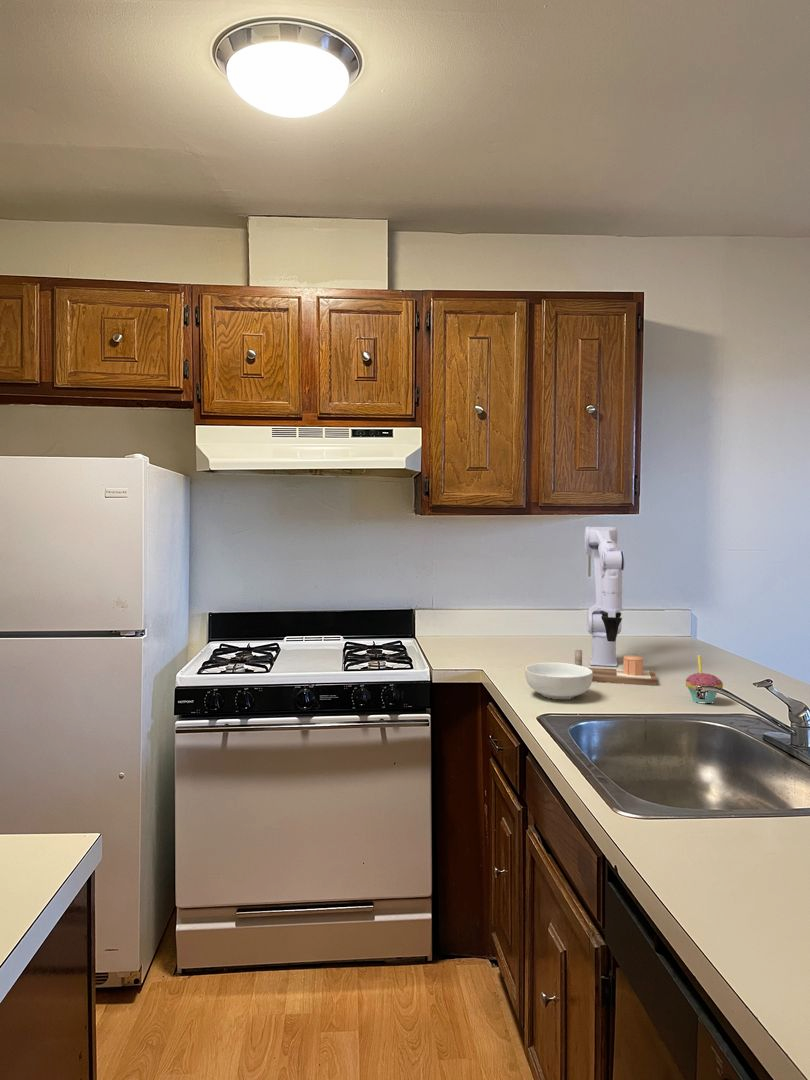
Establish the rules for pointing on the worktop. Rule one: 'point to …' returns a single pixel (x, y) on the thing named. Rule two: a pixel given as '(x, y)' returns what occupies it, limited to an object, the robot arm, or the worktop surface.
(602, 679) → the board
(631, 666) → the cap
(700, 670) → the cupcake
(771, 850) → the worktop surface
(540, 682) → the cereal bowl
